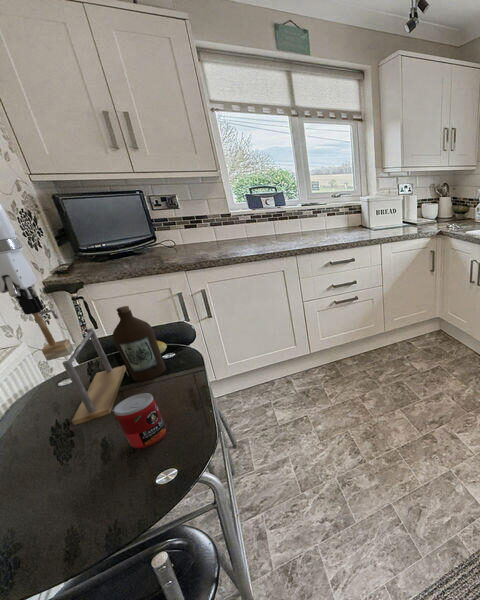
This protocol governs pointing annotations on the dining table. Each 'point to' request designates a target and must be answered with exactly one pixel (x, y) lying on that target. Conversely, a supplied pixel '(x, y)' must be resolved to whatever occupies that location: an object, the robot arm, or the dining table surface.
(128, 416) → the canned food
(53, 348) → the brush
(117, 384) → the rack
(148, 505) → the dining table surface
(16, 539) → the dining table surface
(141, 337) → the olive oil
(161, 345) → the bread roll
